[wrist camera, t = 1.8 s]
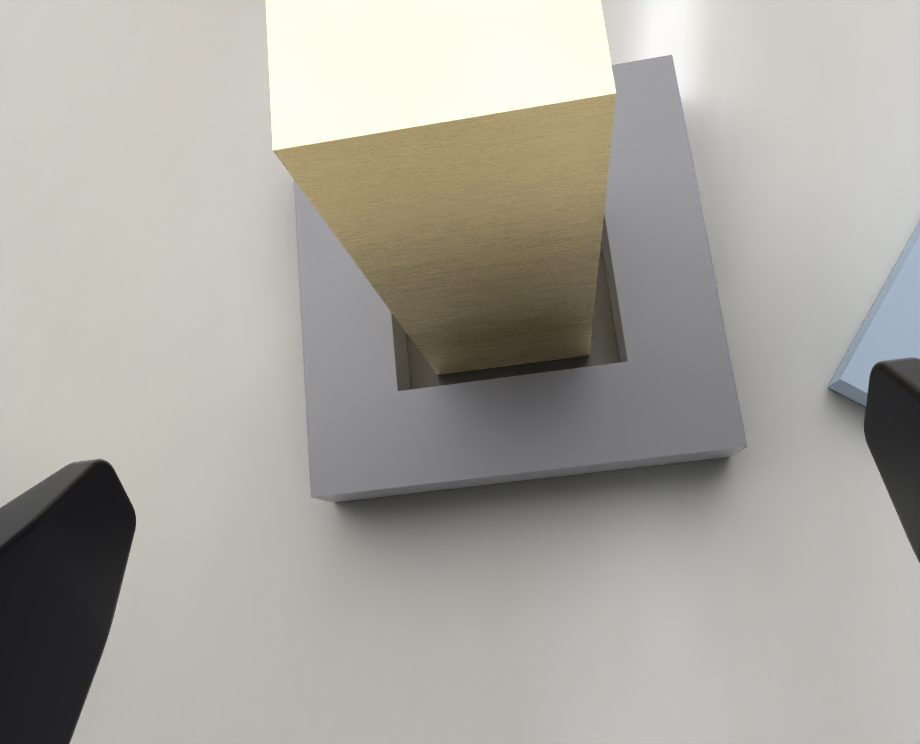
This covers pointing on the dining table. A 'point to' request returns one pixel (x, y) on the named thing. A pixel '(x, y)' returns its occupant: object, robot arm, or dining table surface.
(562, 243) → the pale yellow block
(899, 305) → the blue mat
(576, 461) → the socket block
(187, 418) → the dining table surface
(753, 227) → the dining table surface
